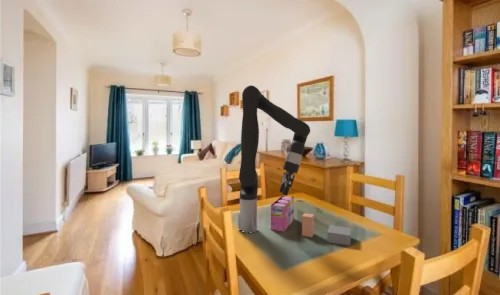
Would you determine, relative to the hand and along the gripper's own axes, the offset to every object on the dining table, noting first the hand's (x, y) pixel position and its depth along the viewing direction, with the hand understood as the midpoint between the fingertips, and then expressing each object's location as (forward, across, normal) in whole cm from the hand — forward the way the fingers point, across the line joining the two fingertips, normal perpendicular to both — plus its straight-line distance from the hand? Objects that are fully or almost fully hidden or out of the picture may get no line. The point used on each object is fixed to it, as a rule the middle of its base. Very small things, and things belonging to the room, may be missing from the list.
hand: (283, 193), depth 121 cm
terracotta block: (+16, -4, +19) cm, 25 cm away
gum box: (+18, -20, +10) cm, 29 cm away
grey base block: (+13, +3, +32) cm, 35 cm away
